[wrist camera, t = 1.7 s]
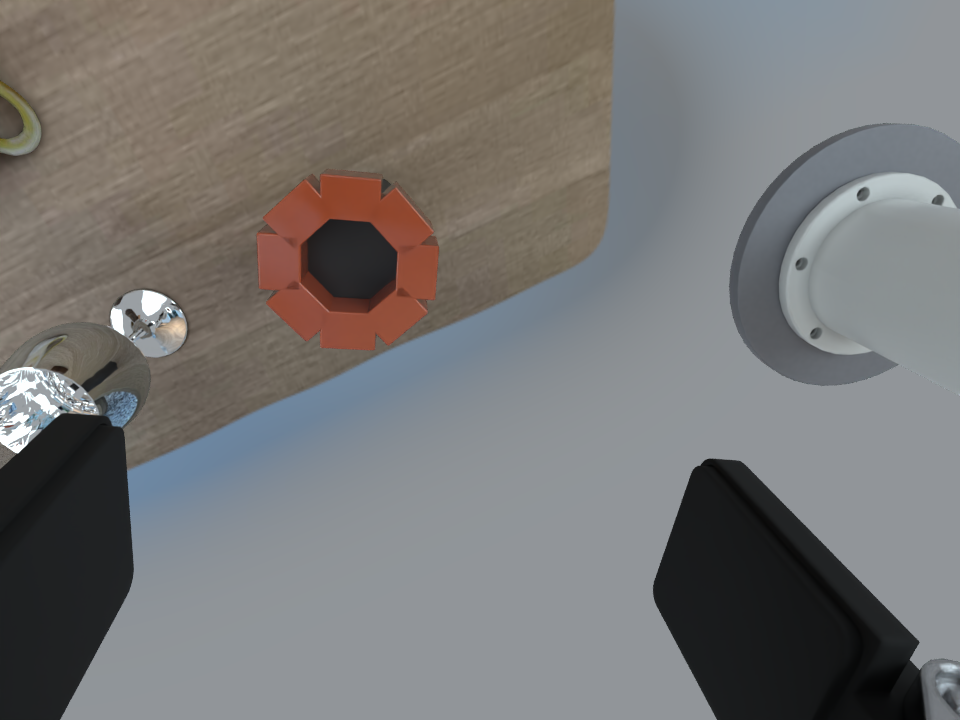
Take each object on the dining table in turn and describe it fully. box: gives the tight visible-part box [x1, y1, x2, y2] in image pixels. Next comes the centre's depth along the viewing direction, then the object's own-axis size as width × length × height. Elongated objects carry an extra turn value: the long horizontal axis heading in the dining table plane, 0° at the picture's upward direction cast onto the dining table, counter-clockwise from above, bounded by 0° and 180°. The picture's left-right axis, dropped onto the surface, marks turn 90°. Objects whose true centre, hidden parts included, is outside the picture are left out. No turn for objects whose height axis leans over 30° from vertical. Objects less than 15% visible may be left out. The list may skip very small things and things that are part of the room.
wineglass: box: [0, 289, 188, 453], centre depth 31 cm, size 6×6×12 cm
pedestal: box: [308, 179, 397, 299], centre depth 30 cm, size 4×4×12 cm
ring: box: [257, 169, 439, 350], centre depth 24 cm, size 7×7×2 cm
